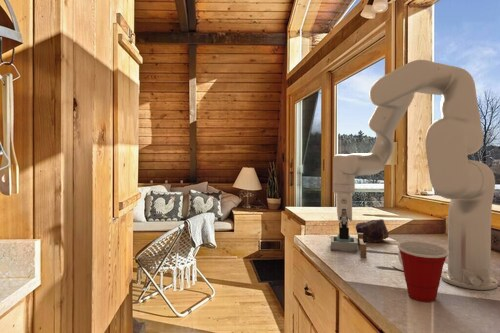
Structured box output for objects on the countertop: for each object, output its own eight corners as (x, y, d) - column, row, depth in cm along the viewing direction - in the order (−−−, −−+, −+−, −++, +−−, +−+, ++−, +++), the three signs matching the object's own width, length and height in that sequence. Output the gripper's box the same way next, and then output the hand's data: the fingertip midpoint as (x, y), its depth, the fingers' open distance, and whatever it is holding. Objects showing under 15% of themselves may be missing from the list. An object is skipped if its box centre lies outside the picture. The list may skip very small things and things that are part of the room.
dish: (357, 251, 123) (357, 243, 123) (330, 250, 125) (330, 241, 125) (356, 245, 131) (356, 237, 131) (331, 244, 134) (331, 236, 134)
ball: (351, 248, 125) (351, 234, 125) (336, 247, 126) (336, 233, 126) (350, 244, 130) (350, 231, 130) (336, 244, 131) (336, 230, 131)
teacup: (435, 274, 99) (435, 258, 99) (397, 273, 100) (397, 256, 100) (423, 264, 109) (423, 249, 109) (389, 262, 110) (389, 247, 110)
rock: (358, 241, 144) (357, 246, 135) (355, 220, 145) (354, 223, 135) (389, 238, 140) (390, 243, 131) (385, 216, 141) (386, 220, 131)
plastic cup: (412, 308, 77) (413, 253, 76) (388, 290, 87) (389, 241, 87) (460, 306, 77) (460, 251, 77) (431, 288, 88) (431, 240, 88)
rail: (366, 257, 115) (366, 244, 115) (360, 257, 116) (360, 244, 115) (362, 245, 132) (362, 233, 132) (357, 244, 133) (357, 233, 132)
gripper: (355, 191, 118) (355, 242, 119) (353, 186, 135) (353, 231, 136) (332, 190, 120) (332, 241, 121) (333, 186, 137) (333, 230, 137)
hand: (343, 236), depth 128 cm, fingers open, 9 cm apart
